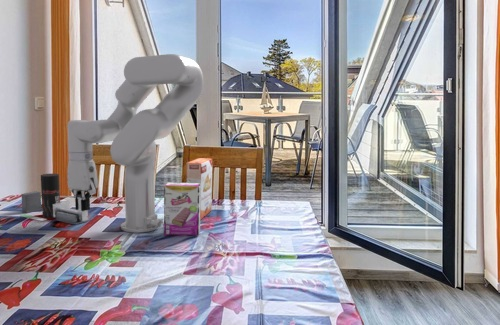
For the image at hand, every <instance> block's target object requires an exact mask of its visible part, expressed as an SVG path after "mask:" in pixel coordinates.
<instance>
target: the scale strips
mask: <svg viewBox="0 0 500 325" xmlns="http://www.w3.org/2000/svg"><path fill="white" fill-rule="evenodd" d="M31 220H34V221H40V222H44V221H47V220H48V218H45V217H38V216H35V217H33V218H31Z"/></svg>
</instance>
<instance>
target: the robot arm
mask: <svg viewBox="0 0 500 325" xmlns="http://www.w3.org/2000/svg"><path fill="white" fill-rule="evenodd" d="M123 76H124V79H125V80H124V81H123V82H122V84H120V86H119V87H118V88H117V89H116V90H115V93H114V97H115V98H116V100H117V102H118V103H117V105H116V107H115V109H114V111H113V112H112V113H111V114H110V116H109V117H108V118H107V119H97V120H86V119H73V120H69V121H68V122H67V146H68V147H67V148H68V150H67V151H68V163H67V181H66V182H67V186H68V191H69V192H71V193H72V194H73V199H75V201H74V202H75V210H78V199H77V195H80V194H82V200H81V211H86V210H88V211H89V210H90V209H91V202H90V201H91V200H90V199H91V198H92V196H93V195H95V194H97V189H98V187H99V185H98V184H99V183H98V172H97V171H98V170H97V166H96V163H95V161H94V155H93V153H94V152H93V144H103V143H109V142H112V143H111V145H110V150H109V152H110V157H111V159H112V161H113V162H115V164H117V165H119V166H121V167H122V166H123V167H125V169H124V170H125V171H124V204H125V206H124V207H125V212H124V213H125V221H124V222H122V223H121V224H120V229H121V230H122V231H124V232H126V233H133V234H134V233H135V234H136V233H137V234H139V233H148V232H152V231H155V230H158V229H159V228H160V227H162V224H164V219H159V218H158V214H157V213H156V210H155V209H156V207H155V206H156V205H155V204H156V203H155V197H156V196H155V195H156V193H155V192H156V190H155V180H156V179H155V169H156V168H155V166H156V158H157V144H156V142H155V141H156V140H162V139H164V138H166V137H168V136H169V135H170V134H171V133H172V131H174V129H175V128H176V127H177V126H178V124H179V123H180V122H181V121H182V120H183V119H184V118H185V116H186V115H187V113H189V112H190V110H191V109H192V108H193V107H194V106H195V104H196V103H197V102H198V101H199V99H200V97H201V95H202V93H203V90H204V86H205V85H204V84H205V83H204V74H203V71H202V69H201V66H199V64H198V63H197V62H196V61H195V60H194V59H191V58H190V57H186V56H183V55H179V54H175V53H168V54H167V53H166V54H165V53H164V54H157V55H146V56H137V57H136V56H135V57H133V58H131V59H129V60H128V61H127V62H126V64H125V65H124V67H123ZM168 84H169V85H170V84H172V85H175V86H174V87H173V88H172V89H171V90H170V91H169V92H167V94H166V95H165V96H164V97H162V98H163V99H162V100H161V101H159V103H158V104H157V105H156V106H155V107H153V108H149V109H148V108H147V109H142V110H140V111H138V109H139V107H140V106H141V105H142V104H143V103H144V101H145V100H146V99H147V98H148V97H149V96H150V94H151V93H152V92H153V91H154V90H155V89H156V88H157V86H158V85H168ZM137 111H138V112H137Z"/></svg>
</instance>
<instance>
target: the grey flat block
mask: <svg viewBox="0 0 500 325" xmlns="http://www.w3.org/2000/svg"><path fill="white" fill-rule="evenodd" d="M20 195H21V196H20V197H21V211H22V213H23V214H30V213H34V212H39V211H42V193H41V191H38V190H35V191H29V192H25V193H21V194H20Z"/></svg>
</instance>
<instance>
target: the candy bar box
mask: <svg viewBox="0 0 500 325" xmlns="http://www.w3.org/2000/svg"><path fill="white" fill-rule="evenodd" d="M163 190H164V193H163V196H164V198H163V201H164V202H163V203H164V204H163V208H164V209H163V216H164V217H163V235H164V236H180V235H186V237H187V236H190V237H193V235H198V236H199V235H200V233H201V220H200V197H201V184H200V183H187V182H166V183H165V184H164V185H163Z"/></svg>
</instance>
